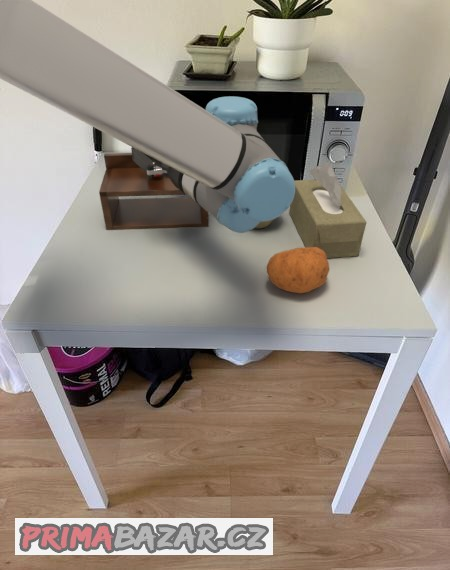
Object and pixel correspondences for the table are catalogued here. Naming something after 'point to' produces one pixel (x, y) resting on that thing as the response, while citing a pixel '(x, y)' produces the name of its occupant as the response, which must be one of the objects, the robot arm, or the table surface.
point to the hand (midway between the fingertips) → (140, 135)
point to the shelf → (149, 211)
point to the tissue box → (327, 215)
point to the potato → (298, 269)
